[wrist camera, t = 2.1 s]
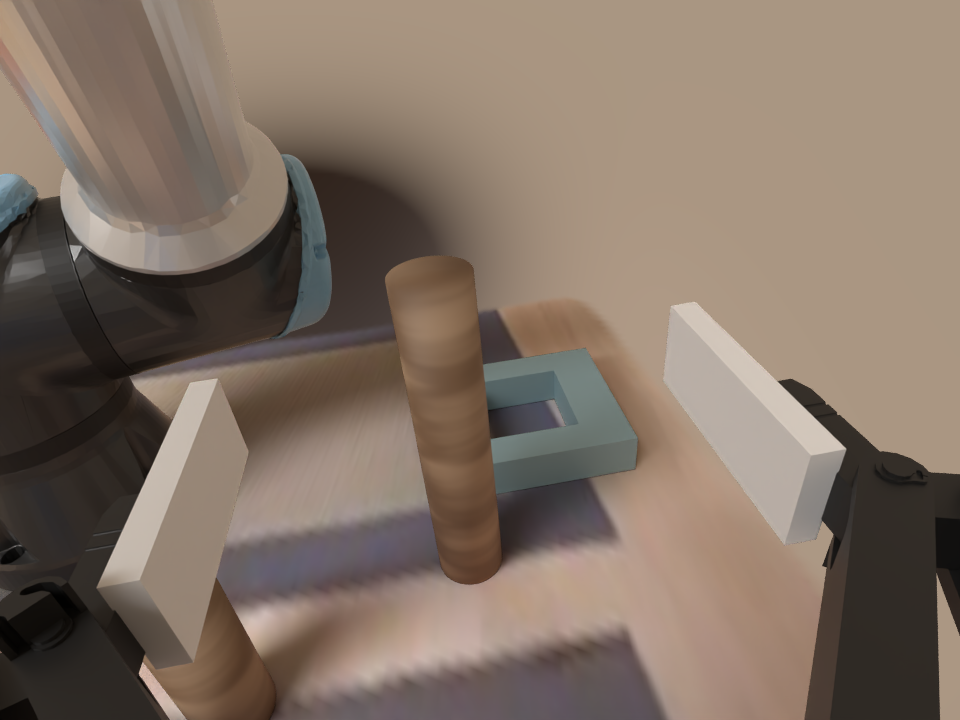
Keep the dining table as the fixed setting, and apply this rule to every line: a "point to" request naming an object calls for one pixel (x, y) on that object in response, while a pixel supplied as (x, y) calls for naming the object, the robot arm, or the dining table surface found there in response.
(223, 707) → the short peg
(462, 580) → the tall peg
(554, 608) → the dining table surface
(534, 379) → the hollow square block
